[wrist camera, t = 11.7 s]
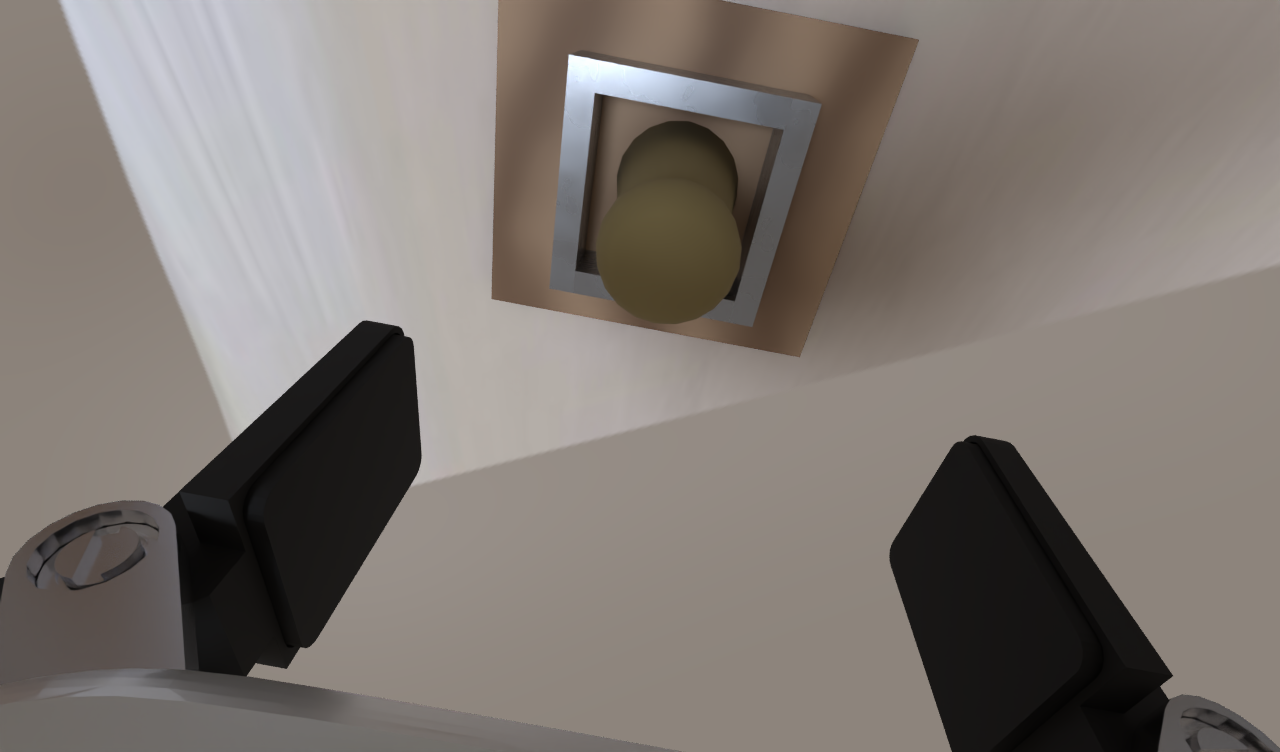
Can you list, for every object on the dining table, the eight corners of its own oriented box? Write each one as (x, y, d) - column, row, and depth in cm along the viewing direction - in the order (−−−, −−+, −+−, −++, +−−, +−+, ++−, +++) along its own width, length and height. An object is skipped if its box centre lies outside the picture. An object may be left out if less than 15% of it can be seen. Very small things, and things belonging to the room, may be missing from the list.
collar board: (910, 38, 25) (919, 39, 24) (796, 346, 34) (799, 356, 33) (507, -42, 25) (499, -44, 24) (497, 290, 34) (491, 298, 33)
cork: (722, 254, 30) (732, 363, 21) (609, 233, 30) (568, 333, 21) (752, 133, 27) (780, 198, 17) (625, 109, 27) (586, 162, 17)
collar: (809, 94, 26) (821, 104, 23) (748, 301, 31) (752, 327, 29) (581, 49, 25) (568, 54, 23) (561, 266, 31) (549, 288, 29)
